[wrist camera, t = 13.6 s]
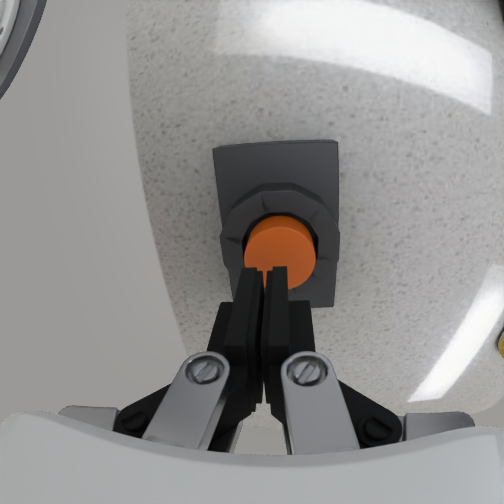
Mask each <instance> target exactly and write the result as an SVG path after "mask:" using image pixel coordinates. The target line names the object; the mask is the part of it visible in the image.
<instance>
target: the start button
mask: <svg viewBox="0 0 504 504" xmlns="http://www.w3.org/2000/svg"><path fill="white" fill-rule="evenodd" d="M315 261H316V256H315V250H314V246H313V241H312V237H311V234H310V232H309V230H308V229H307V228H306V227H305V226H304V225H303V224H302V223H301V222H300V221H298V220H296V219H294V218H292V217H288V216H272V217H269V218H266V219H264V220H262V221H261V222H259V223H258V224H257V225H256V226H255V227H254V228H253V230H252V232H251V233H250V236H249V239H248V243H247V246H246V250H245V254H244V262H245V266H246V267H257V271H263V279H264V287H266V276H267V271H269V270H272V268H273V266H287V273H288V289H292V288H295V287H297V286H299V285H301V284H302V283H303V282H305V281H306V280H307V279H308V278H309V276H310V275H311V273H312V272H313V269H314V267H315Z"/></svg>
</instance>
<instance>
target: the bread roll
mask: <svg viewBox="0 0 504 504" xmlns="http://www.w3.org/2000/svg"><path fill="white" fill-rule="evenodd" d="M498 348H499V352H500V354H501V356H502V357H503V358H504V331H503V333H502V335H501V337H500V339H499V343H498Z"/></svg>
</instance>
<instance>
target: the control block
mask: <svg viewBox="0 0 504 504" xmlns="http://www.w3.org/2000/svg"><path fill="white" fill-rule="evenodd" d="M213 159H214V167H215V175H216V183H217V191H218V198H219V206H220V213H221V221H222V228H223V230H222V232H221V235H220V242H221V248H222V255H223V262H224V264H225V266H226V267H227V269H228V270H229V277H230V283H231V290H232V296H233V302H234V298H235V294H236V290H237V285H238V281H239V277H240V273H241V269H242V268H245V267H246V266H245V262H244V254H245V250H246V246H247V243H248V239H249V236H250V233H251V232H252V230H253V228H254V227H255V226H256V225H257V224H258V223H259V222H261V221H262V220H264V219H266V218H269V217H272V216H288V217H292V218H294V219H296V220H298V221H300V222H301V223H302V224H303V225H304V226H305V227H306V228H307V229H308V230H309V232H310V234H311V237H312V241H313V246H314V250H315V256H316V261H315V267H314V269H313V272H312V273H311V275H310V276H309V278H308V279H307V280H306V281H305V282H303V283H302V284H301V285H299V286H297V287H295V288H292V289H288V301H294V300H309V301H310V308H321V307H333V306H334V297H335V284H336V269H337V262H338V260H339V244H340V232H339V229H338V223H339V160H338V142H336V141H333V140H296V141H274V142H259V143H246V144H235V145H225V146H219V147H216V148H214V149H213ZM264 291H265V287H264Z"/></svg>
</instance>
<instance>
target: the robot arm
mask: <svg viewBox="0 0 504 504" xmlns="http://www.w3.org/2000/svg"><path fill="white" fill-rule="evenodd" d="M19 4H20V0H0V56H1V54H2V52H3V50H4V48H5V46H6V43H7V41H8V39H9V36H10V34H11V31H12V29H13V26H14V23H15V20H16V17H17V13H18V9H19ZM263 384H264V386H265V395H266V403H267V404H270V406H271V415H273V416H274V417H275V418H276V419H277V420H279V421H280V422H281V423H282V429H283V434H284V441H285V449H286V455H251V454H234V449H235V447H236V444H237V441H238V438H239V435H240V432H241V429H242V425H243V419H245V418H246V417H248V416H249V415H251V413H252V412H255V410H256V403H260V404H261V403H262V396H263ZM0 504H504V429H503V428H498V427H488V426H479V427H475V424H474V421H473V419H472V418H471V417H470V415H468V414H466V413H464V412H443V413H406V415H405V416H397V415H395V414H394V413H393V412H391V411H390V410H388V409H386V408H384V407H383V406H381V405H379V404H377V403H376V402H374V401H372V400H371V399H369V398H367V397H366V396H364V395H362V394H361V393H359V392H357V391H356V390H354V389H352V388H351V387H349V386H347V385H346V384H344V383H343V382H341V381H339V380H338V379H337V377H336V374H335V371H334V368H333V365H332V364H331V362H330V360H329V359H328V358H326V357H325V356H324V355H322V354H320V353H317V352H316V351H315V342H314V333H313V324H312V316H311V308H310V301H309V300H294V301H288V273H287V266H273V268H272V270H269V271H267V276H266V287H265V291H264V279H263V271H257V267H245V268H242V269H241V273H240V277H239V281H238V285H237V290H236V294H235V298H234V302H221V304H220V306H219V310H218V313H217V316H216V320H215V323H214V326H213V330H212V333H211V337H210V340H209V344H208V347H207V351H205V352H199V353H196V354H194V355H192V356H190V357H189V358H187V360H185V361H184V363H183V364H182V366H181V367H180V369H179V371H178V373H177V375H176V377H175V378H174V380H173V382H172V383H171V384H169V385H167V386H166V387H163V388H162V389H160V390H158V391H156V392H154V393H152V394H150V395H148V396H146V397H144V398H143V399H141V400H139V401H137V402H135V403H133V404H131V405H129V406H127V407H125V408H124V409H122V410H121V411H120V410H118V409H117V408H111V407H88V406H74V405H73V406H67V407H65V408H63V409H62V410H61V411H60V412H59V413H58V414H55V413H51V412H45V411H22V412H17V413H13V414H11V415H10V416H8V417H7V418H6V419H5V420H4V421H3V423H2V424H1V425H0Z"/></svg>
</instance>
